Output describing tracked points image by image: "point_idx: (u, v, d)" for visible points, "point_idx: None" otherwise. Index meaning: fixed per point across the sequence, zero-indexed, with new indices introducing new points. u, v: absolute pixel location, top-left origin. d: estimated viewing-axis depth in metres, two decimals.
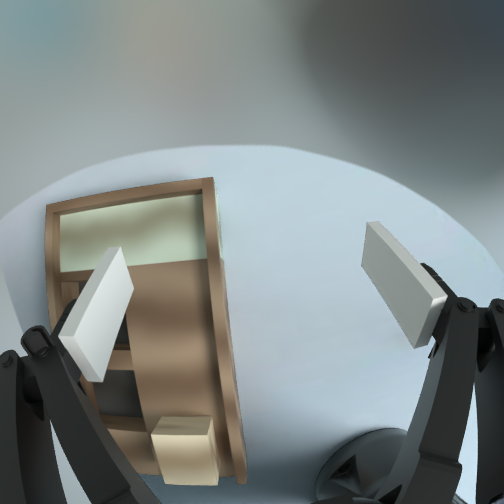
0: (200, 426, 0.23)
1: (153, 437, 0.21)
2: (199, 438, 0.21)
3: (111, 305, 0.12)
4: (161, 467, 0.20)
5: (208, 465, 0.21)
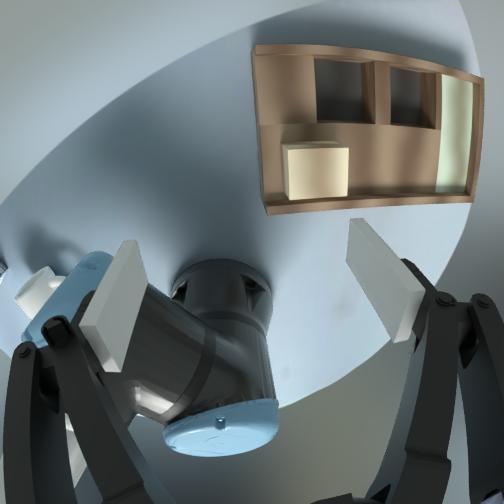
0: None
1: (345, 149, 0.26)
2: (344, 189, 0.28)
3: (128, 296, 0.13)
4: (310, 150, 0.26)
5: (315, 194, 0.28)
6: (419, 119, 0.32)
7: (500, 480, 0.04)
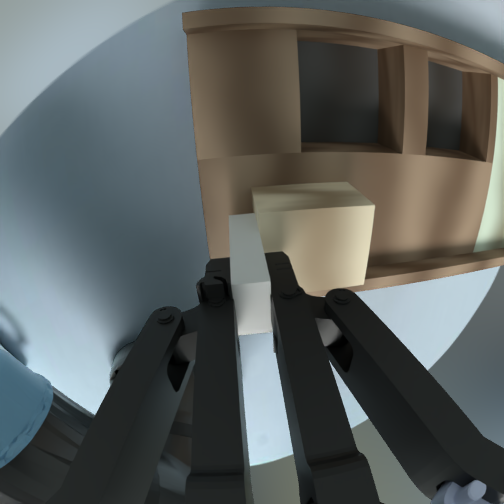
0: None
1: (369, 208, 0.14)
2: (359, 275, 0.16)
3: None
4: (303, 212, 0.14)
5: (309, 286, 0.16)
6: (458, 141, 0.20)
7: (445, 473, 0.04)
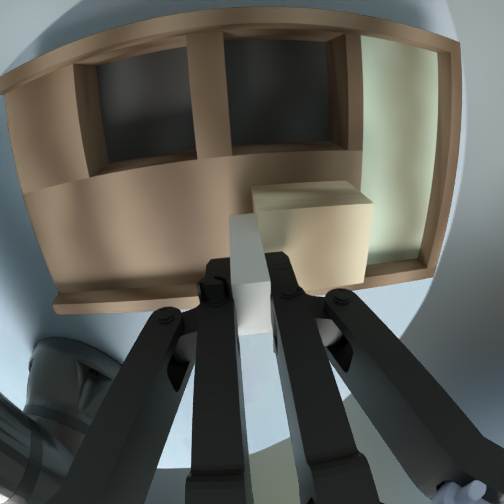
0: None
1: (368, 206, 0.14)
2: (359, 273, 0.16)
3: None
4: (303, 210, 0.14)
5: (308, 284, 0.16)
6: (328, 129, 0.20)
7: (445, 473, 0.04)
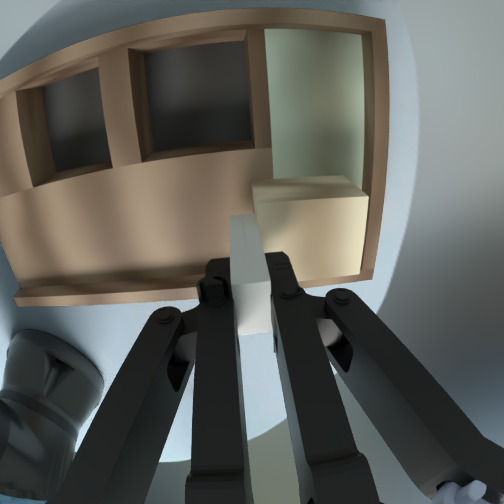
0: None
1: (362, 199, 0.15)
2: (355, 265, 0.17)
3: None
4: (299, 203, 0.15)
5: (305, 274, 0.17)
6: (250, 128, 0.20)
7: (445, 473, 0.04)
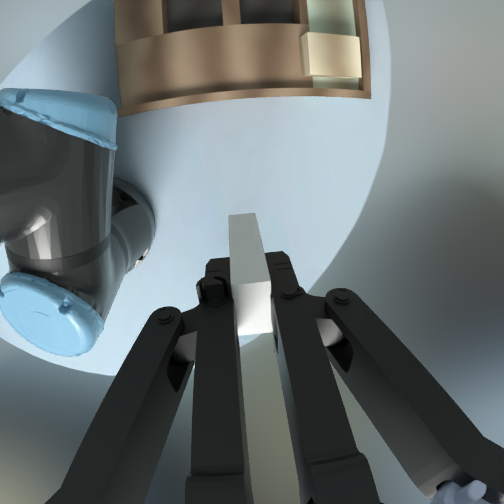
0: None
1: (356, 38, 0.24)
2: (358, 71, 0.27)
3: None
4: (326, 34, 0.24)
5: (332, 71, 0.27)
6: None
7: (445, 473, 0.04)
